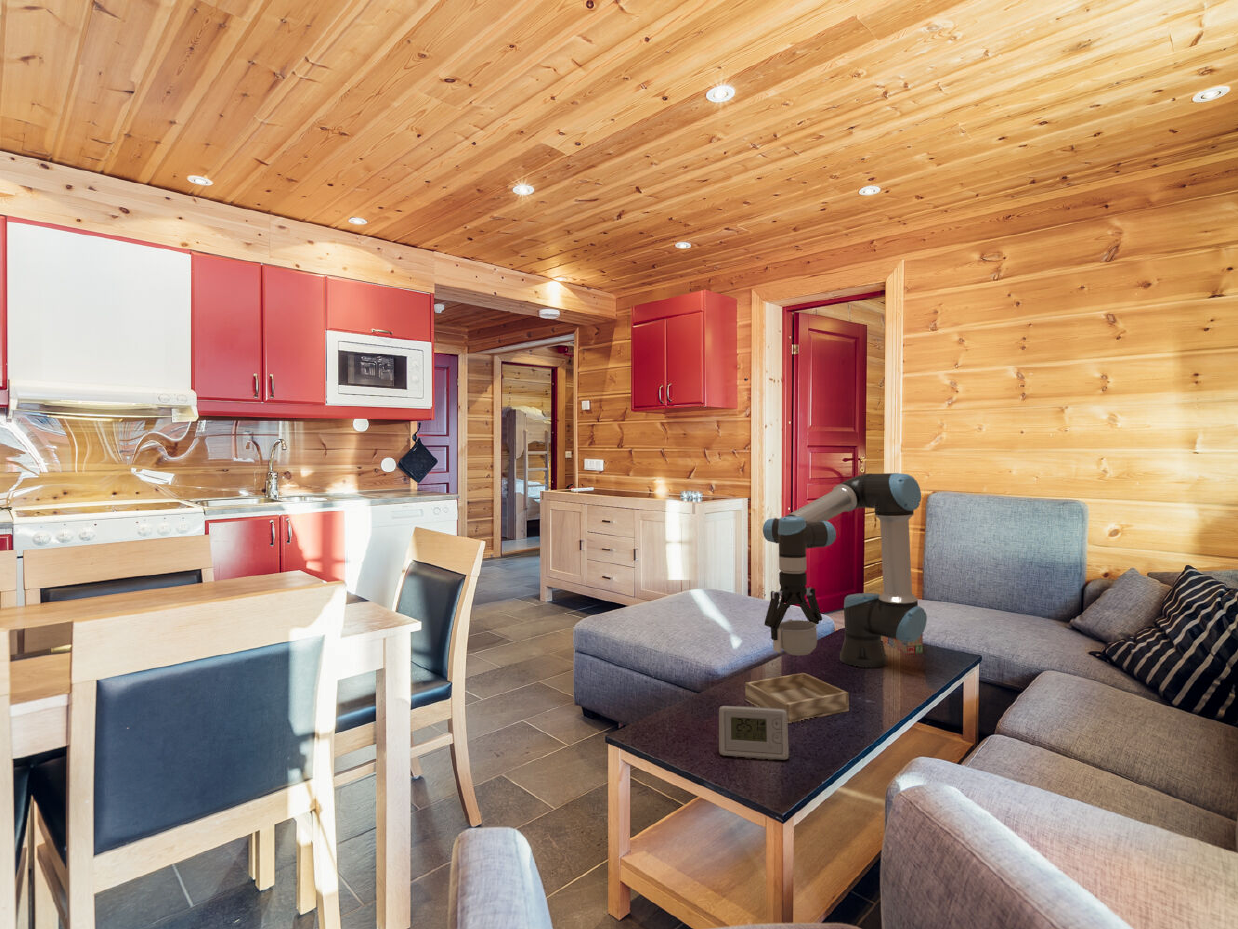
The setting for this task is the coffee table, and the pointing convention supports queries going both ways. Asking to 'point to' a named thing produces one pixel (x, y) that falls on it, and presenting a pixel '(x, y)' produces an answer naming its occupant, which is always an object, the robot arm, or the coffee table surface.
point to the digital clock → (753, 732)
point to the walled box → (798, 696)
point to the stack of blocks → (905, 645)
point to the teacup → (798, 636)
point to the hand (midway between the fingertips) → (794, 648)
